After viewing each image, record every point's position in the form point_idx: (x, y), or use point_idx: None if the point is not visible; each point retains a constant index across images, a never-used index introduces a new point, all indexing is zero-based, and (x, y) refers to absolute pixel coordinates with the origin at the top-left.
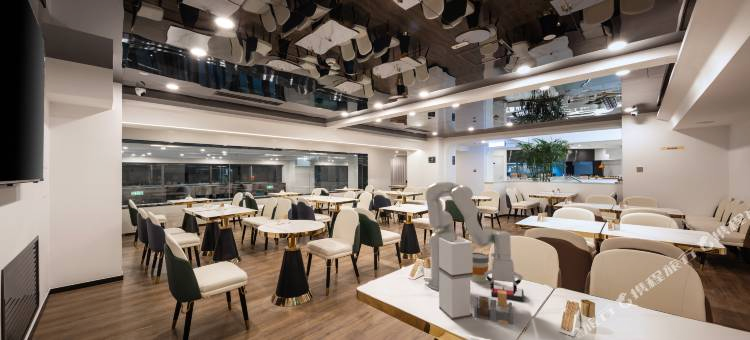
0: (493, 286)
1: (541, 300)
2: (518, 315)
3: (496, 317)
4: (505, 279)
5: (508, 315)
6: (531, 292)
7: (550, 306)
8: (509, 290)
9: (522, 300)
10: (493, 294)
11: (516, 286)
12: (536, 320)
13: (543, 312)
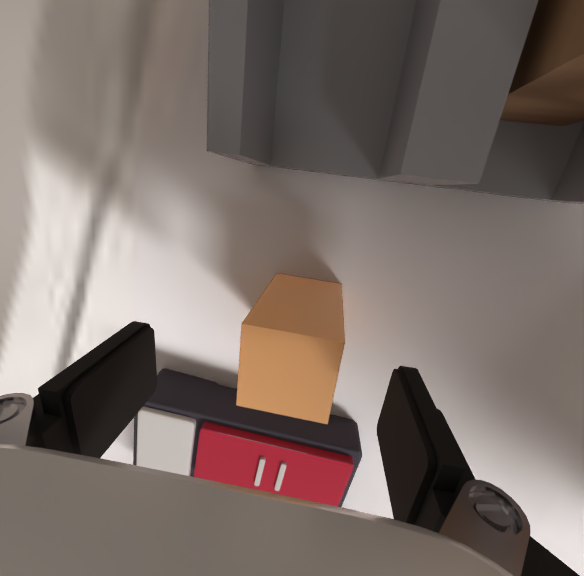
0: (418, 417)
1: None
2: (202, 181)
3: (411, 8)
4: (99, 533)
5: (281, 104)
6: None
7: (20, 359)
8: None
9: None
10: (346, 442)
11: (38, 395)
12: (83, 129)
13: (49, 273)
